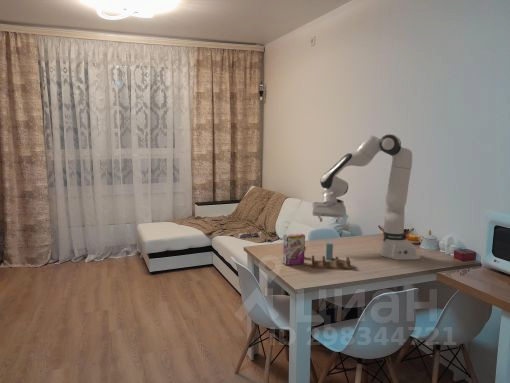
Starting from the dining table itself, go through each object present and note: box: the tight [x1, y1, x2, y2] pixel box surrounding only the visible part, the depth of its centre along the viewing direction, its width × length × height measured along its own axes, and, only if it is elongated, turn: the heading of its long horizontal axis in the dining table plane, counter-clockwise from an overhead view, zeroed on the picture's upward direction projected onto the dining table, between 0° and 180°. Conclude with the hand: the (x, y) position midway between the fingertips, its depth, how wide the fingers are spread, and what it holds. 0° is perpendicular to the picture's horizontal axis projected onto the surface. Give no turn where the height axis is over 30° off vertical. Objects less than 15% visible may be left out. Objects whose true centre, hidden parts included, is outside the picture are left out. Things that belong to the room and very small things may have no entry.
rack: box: [311, 255, 351, 271], centre depth 224 cm, size 20×10×4 cm, turn 83°
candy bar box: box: [282, 232, 306, 266], centre depth 226 cm, size 11×5×16 cm, turn 111°
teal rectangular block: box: [325, 242, 334, 261], centre depth 237 cm, size 4×4×9 cm
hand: (329, 221), depth 248 cm, fingers open, 8 cm apart
